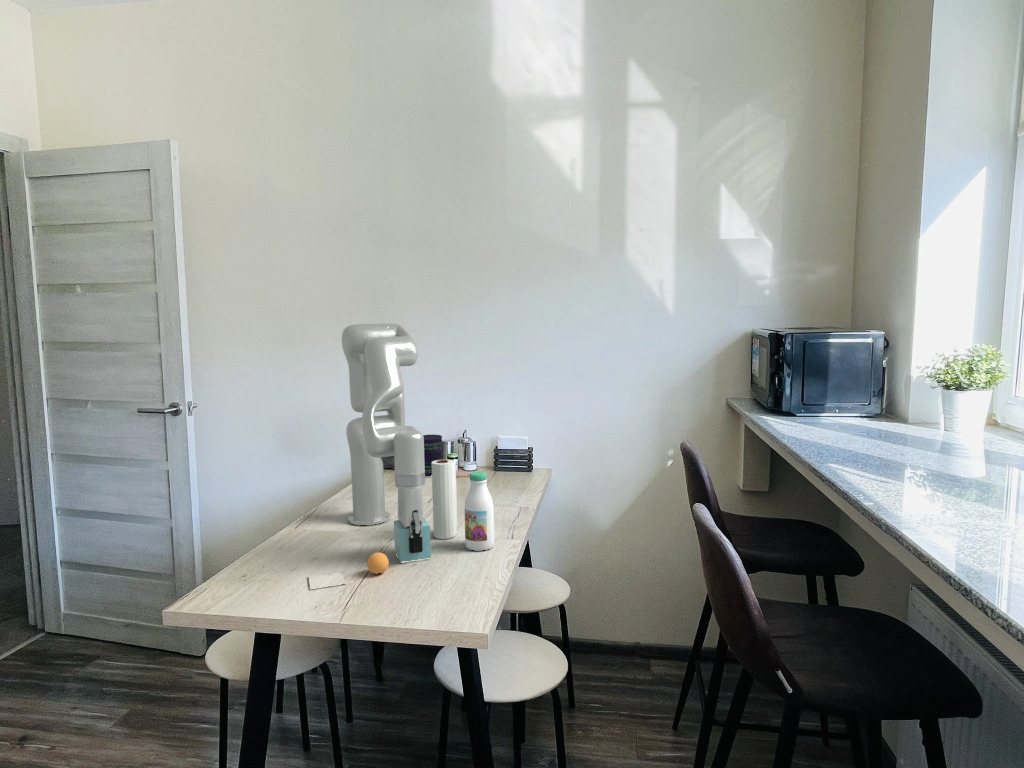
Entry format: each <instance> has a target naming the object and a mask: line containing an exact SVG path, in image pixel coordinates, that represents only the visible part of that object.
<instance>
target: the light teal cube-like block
mask: <svg viewBox="0 0 1024 768" xmlns="http://www.w3.org/2000/svg"><path fill="white" fill-rule="evenodd" d="M411 525H414V523H411ZM393 529H394V530H393V533H394V553H395V552H396V554H397V556H398V558H399V560H400V562H402V561H411V560H418V559H425V558H431V559H432V549H431V548H432V545H431V525H430V524H429V522H428V521H427V520H426V519H425V517H424V516H423V524H422V525H421V532H422V549H423V551H422V552H418V553H410V552H409V537H410V528H409V526H408V527H407V528H405V527H403V525H402V524H401V523H400V521H399V519H398V520H393ZM413 529H415V528H412V532H413ZM396 554H395V555H396ZM397 556H396V557H397ZM398 558H397V559H398ZM399 560H398V561H399ZM400 562H399V563H400Z"/></svg>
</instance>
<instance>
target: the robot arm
mask: <svg viewBox="0 0 1024 768" xmlns="http://www.w3.org/2000/svg"><path fill="white" fill-rule="evenodd" d="M341 346H342V351H343V354H344V356H345V359H346V361H347V365H348V373H349V374H348V375H349V376H348V377H349V379H348V380H349V382H348V383H349V398H350V405H351V409H352V411H354V412H357V413H362V415H361V417H357V418H354V419H352V420H350V421H349V422H348V423H347V425H346V428H345V429H346V432H345V433H346V439H347V443H348V449H349V456H350V473H351V491H352V492H351V493H352V495H351V496H352V497H351V498H352V513H351V514H350V515H349V516H348V517H347V521H348V522H347V523H349V524H351V525H353V524H354V525H355V526H360V525H367V526H375V524H376V525H380V523H381V524H383V522H384V523H386V522H388V521H389V520H390V519H391V513H390V512H388V511H386V507H385V505H386V504H385V503H386V502H385V498H386V497H385V478H384V477H385V476H384V474H385V473H384V461H383V459H382V458H387V457H393V458H394V459H393V460H394V484H395V485H394V486H395V488H397V519H398V520H399V521H400V523H401V524H402V525H403V527H405V528H407V527H408V526H409V528H410V537H409V552H410V553H418V552H422V551H423V549H422V532H421V525H422V524H423V517H424V503H423V502H424V501H423V491H422V490H423V489H422V487H425V486H426V477H425V462H424V437H423V435H424V434H423V432H422V431H419V430H417V428H416V427H414V426H413V425H406V414H405V412H406V411H405V410H406V409H405V394H404V389H405V386H404V383H403V378H402V374H401V373H402V372H401V368H400V367H411V366H414V365H415V364H416V363H417V361H418V354H419V353H418V348H417V345H416V342H415V341H414V338H413V337H412V336H411V334H410V333H409V332H408V331H407V330H406V329H405V328H404V327H403V326H402V325H400V324H397V323H359V324H358V323H356V324H351V325H347V326H346V327H345V328H343V330H342V333H341ZM377 412H387V414H383V415H375V413H377ZM411 523H414V525H411ZM412 528H415V529H413V532H412Z"/></svg>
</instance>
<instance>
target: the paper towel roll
mask: <svg viewBox="0 0 1024 768" xmlns="http://www.w3.org/2000/svg"><path fill="white" fill-rule="evenodd" d="M456 467H457V464H456V458H454V459H453V460H452V459H442V460H436V461H433V462H432V477H431V484H432V485H431V488H432V489H431V491H432V517H433V518H432V521H433V523H432V524H433V537H434V538H435V539H439V540H448V539H452V538H455V536H456V535H457V532H458V512H457V511H458V507H457V506H458V505H457V503H458V501H457V500H458V499H457V473H456V471H457V470H456Z"/></svg>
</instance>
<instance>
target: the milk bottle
mask: <svg viewBox="0 0 1024 768" xmlns="http://www.w3.org/2000/svg"><path fill="white" fill-rule="evenodd" d="M469 482H470V485H469V490H468V492H467V495H466V496H465V497H466V498H465V502H464V539H465V542H464V543H465V545H464V546H465V547H466V549H467V550H469V551H472V550H474V551H473V552H482V551H483V550H485V551H489V550H491V549H493V548H494V547H493V546H495V518H494V517H495V515H494V511H495V509H494V501H493V498H492V495H491V493H490V492H489V489H488V486H487V482H488V474H487V472H485V471H473V472H472V471H471V472H470V473H469ZM488 549H489V550H488Z"/></svg>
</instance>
